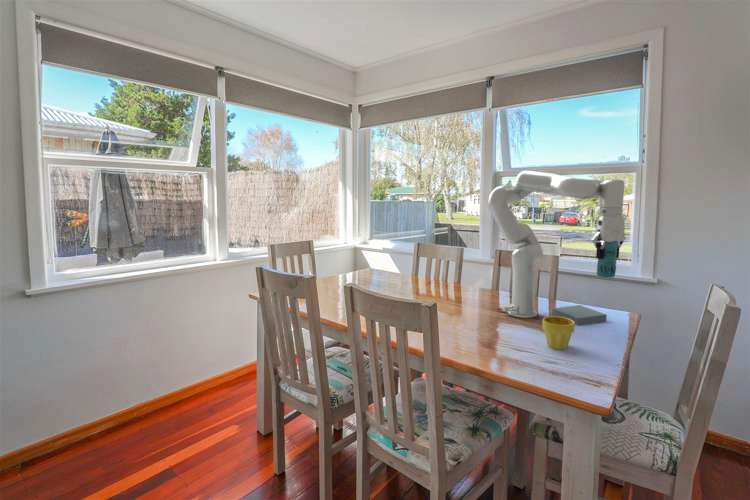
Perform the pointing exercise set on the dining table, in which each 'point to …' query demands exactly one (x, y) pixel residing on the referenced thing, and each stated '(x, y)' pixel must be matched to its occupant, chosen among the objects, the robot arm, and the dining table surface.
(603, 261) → the beverage bottle
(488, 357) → the dining table surface
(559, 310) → the stand
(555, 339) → the plant pot
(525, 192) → the robot arm
